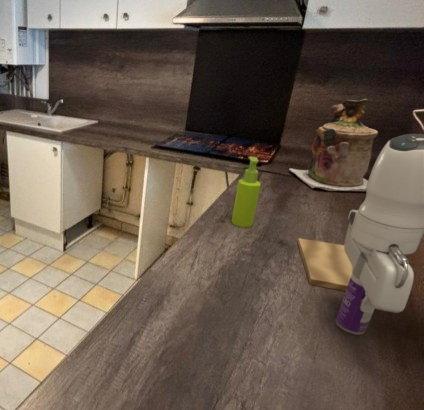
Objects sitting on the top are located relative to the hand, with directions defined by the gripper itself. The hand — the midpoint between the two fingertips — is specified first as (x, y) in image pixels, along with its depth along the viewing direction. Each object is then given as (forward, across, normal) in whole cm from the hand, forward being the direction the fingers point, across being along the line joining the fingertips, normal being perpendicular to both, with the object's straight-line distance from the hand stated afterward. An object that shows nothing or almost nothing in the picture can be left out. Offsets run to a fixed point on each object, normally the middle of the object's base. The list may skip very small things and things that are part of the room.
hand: (360, 299), depth 65 cm
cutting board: (+6, +22, -2) cm, 23 cm away
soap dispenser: (+6, +40, +19) cm, 45 cm away
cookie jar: (+6, +92, -14) cm, 93 cm away
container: (+6, 0, 0) cm, 6 cm away
